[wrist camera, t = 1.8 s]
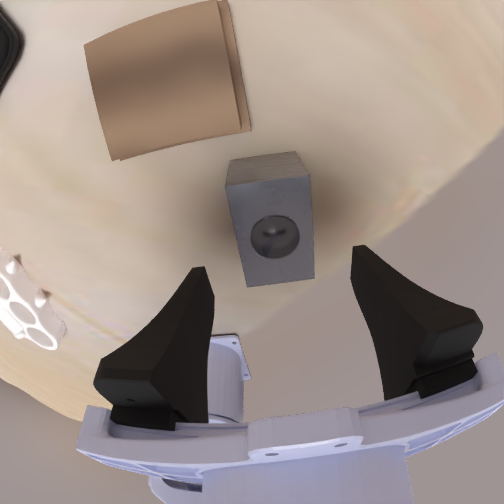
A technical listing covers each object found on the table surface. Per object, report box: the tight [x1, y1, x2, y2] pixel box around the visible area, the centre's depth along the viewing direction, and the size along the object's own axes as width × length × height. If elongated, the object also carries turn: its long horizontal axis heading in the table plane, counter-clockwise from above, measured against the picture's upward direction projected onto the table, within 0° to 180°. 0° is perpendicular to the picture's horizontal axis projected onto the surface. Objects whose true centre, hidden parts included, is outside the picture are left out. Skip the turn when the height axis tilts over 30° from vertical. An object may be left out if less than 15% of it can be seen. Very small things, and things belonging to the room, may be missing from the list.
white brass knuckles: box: [0, 247, 66, 350], centre depth 24 cm, size 3×18×15 cm
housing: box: [225, 151, 315, 287], centre depth 18 cm, size 4×7×5 cm, turn 9°
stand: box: [84, 0, 251, 161], centre depth 14 cm, size 9×9×3 cm
